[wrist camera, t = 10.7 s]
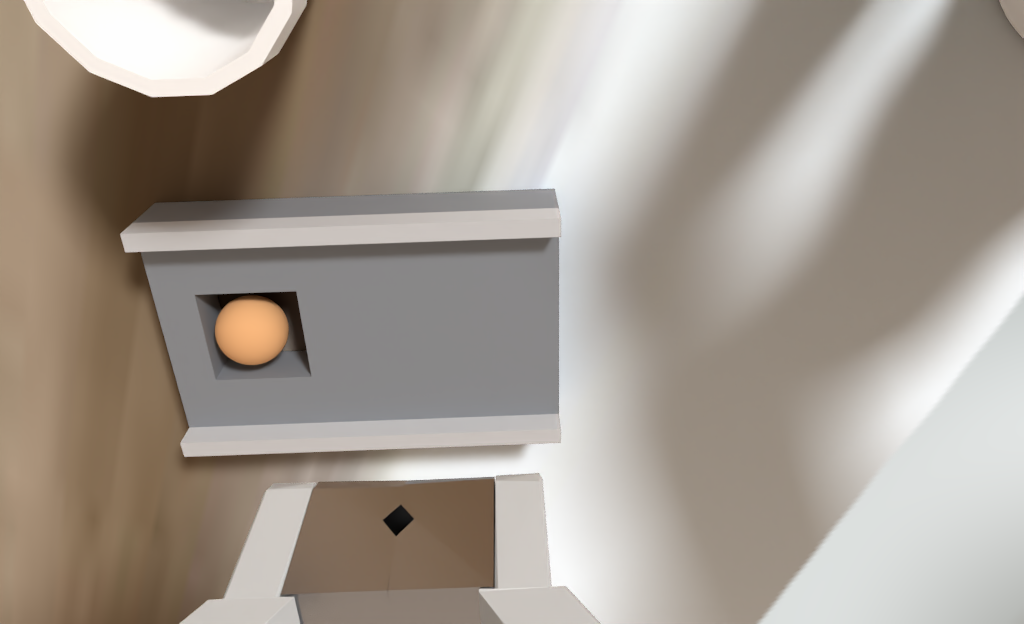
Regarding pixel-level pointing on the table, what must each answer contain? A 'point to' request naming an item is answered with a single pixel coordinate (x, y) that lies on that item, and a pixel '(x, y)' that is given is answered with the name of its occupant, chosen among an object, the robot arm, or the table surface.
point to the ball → (251, 330)
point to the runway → (365, 319)
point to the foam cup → (169, 39)
